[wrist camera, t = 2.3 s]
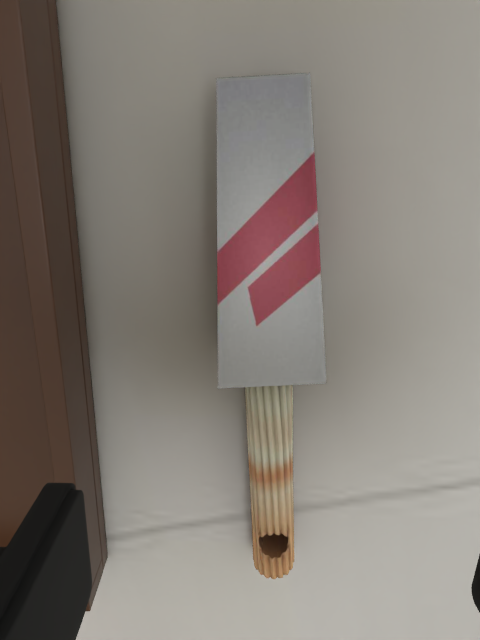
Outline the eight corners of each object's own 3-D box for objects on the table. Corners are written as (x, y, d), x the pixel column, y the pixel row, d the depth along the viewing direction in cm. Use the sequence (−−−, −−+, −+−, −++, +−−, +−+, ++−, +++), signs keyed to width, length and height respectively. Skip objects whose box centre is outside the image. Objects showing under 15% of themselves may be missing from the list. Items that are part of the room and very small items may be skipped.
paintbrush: (340, 64, 12) (317, 588, 19) (321, 77, 14) (307, 536, 22) (195, 69, 12) (229, 591, 19) (202, 82, 14) (229, 539, 22)
